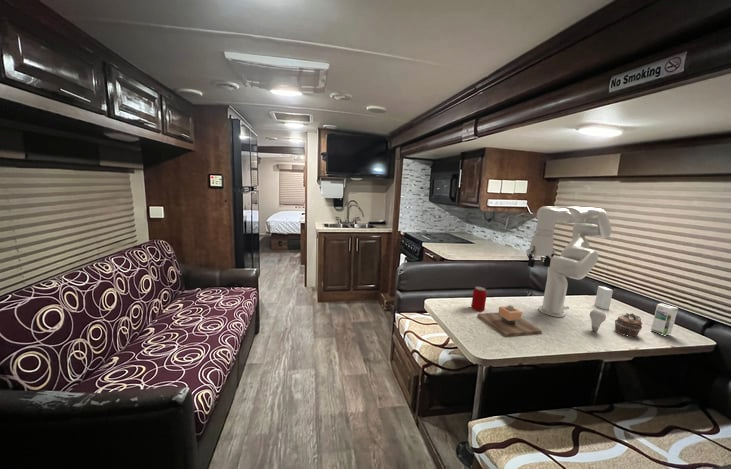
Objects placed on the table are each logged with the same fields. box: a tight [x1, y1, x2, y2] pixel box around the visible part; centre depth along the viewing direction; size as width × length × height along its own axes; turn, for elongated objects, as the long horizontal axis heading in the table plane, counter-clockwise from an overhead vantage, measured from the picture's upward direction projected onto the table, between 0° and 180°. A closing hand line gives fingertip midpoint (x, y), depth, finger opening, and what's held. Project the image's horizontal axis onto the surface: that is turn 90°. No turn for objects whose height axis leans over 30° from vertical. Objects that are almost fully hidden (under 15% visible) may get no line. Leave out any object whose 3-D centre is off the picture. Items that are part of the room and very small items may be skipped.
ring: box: [498, 305, 523, 321], centre depth 138 cm, size 7×7×4 cm
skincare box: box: [594, 285, 614, 310], centre depth 168 cm, size 6×4×12 cm
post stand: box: [476, 304, 543, 338], centre depth 138 cm, size 20×20×10 cm
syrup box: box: [650, 303, 679, 336], centre depth 139 cm, size 6×6×14 cm
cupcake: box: [614, 312, 643, 337], centre depth 137 cm, size 10×10×10 cm
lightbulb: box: [589, 308, 607, 332], centre depth 137 cm, size 6×6×11 cm
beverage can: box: [471, 286, 488, 312], centre depth 154 cm, size 7×7×12 cm
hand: (538, 266), depth 142 cm, fingers open, 9 cm apart
